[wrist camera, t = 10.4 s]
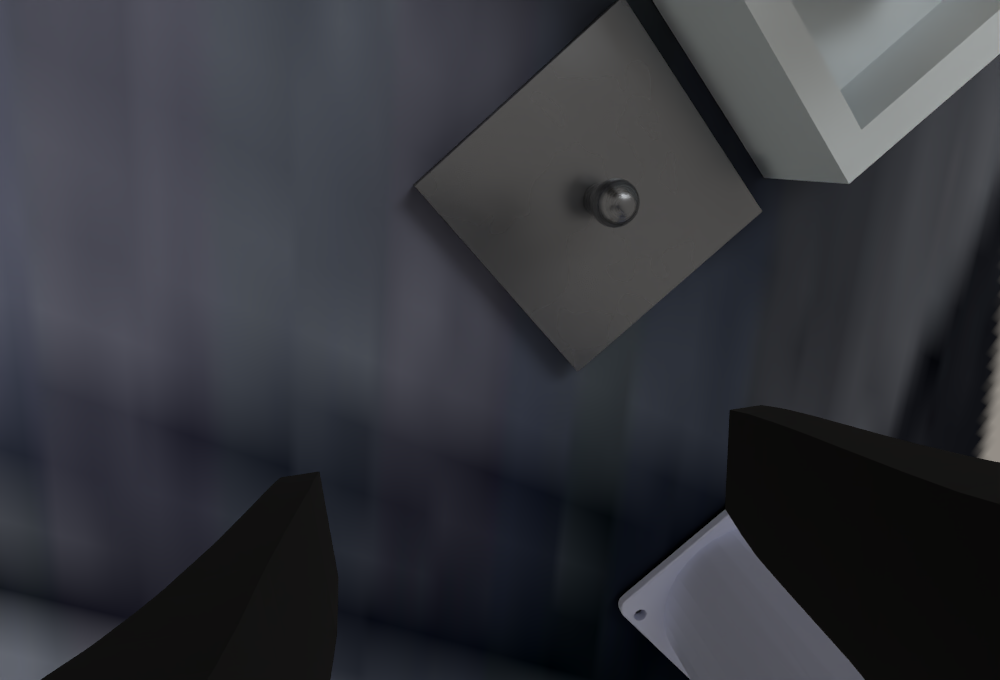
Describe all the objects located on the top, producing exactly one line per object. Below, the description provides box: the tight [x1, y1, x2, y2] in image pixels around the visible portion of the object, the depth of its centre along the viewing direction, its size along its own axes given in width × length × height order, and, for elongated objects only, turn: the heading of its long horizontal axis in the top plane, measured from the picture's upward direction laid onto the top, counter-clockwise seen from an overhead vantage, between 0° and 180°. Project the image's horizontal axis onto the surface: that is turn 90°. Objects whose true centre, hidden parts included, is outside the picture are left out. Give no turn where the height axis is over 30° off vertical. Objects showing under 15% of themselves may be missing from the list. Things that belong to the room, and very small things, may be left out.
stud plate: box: [414, 0, 762, 371], centre depth 19 cm, size 8×8×3 cm
